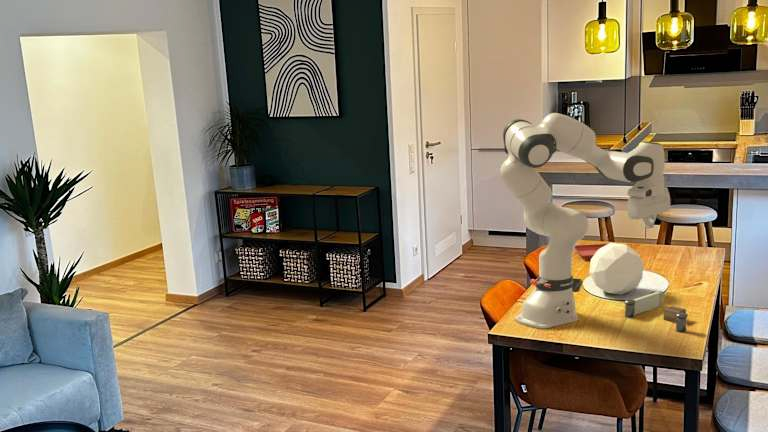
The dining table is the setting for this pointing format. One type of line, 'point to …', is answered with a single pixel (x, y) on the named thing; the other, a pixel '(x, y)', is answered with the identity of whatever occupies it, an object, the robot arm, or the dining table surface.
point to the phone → (576, 284)
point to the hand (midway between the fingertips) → (649, 227)
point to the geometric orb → (616, 268)
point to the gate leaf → (648, 302)
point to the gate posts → (680, 316)
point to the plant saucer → (588, 250)
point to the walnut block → (672, 313)
